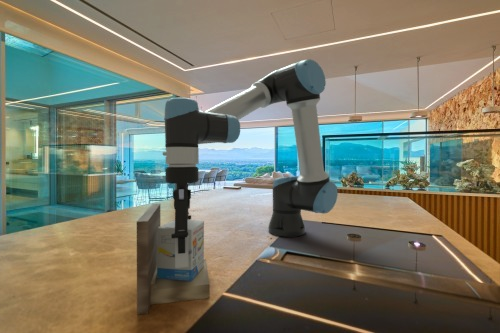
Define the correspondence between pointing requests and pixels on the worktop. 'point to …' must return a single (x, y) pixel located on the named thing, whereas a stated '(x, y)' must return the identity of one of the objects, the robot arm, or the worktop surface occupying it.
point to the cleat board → (147, 281)
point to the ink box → (168, 251)
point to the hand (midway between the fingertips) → (183, 255)
